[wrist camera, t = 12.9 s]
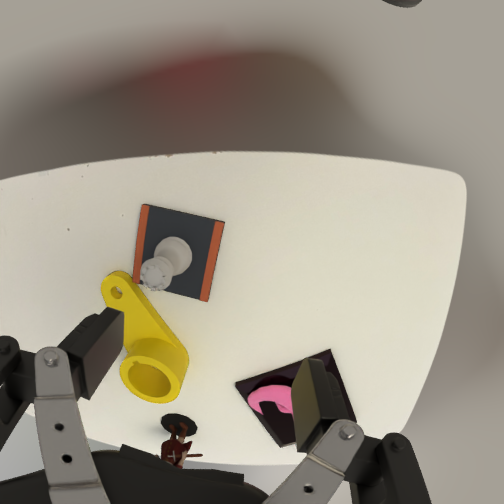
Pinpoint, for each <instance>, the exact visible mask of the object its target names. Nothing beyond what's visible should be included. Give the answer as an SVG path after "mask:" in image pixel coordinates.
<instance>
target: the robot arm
mask: <svg viewBox="0 0 504 504" xmlns="http://www.w3.org/2000/svg"><path fill="white" fill-rule="evenodd" d="M123 342H124V312H123V311H120V310H117V309H114V308H111V307H106V308H105V309H104V310H103V312H102V313H101V314H100V315H98V314H92V315H90V316H88V317H86V318H85V319H84V320H83V321H82V322H81V323H80V324H79V325H78V326H77V327H76V328H75V329H74V330H73V331H72V332H71V333H70V334H69V335H68V336H67V337H66V338H65V339H64V340H63V341H62V342H61V343H60V344H59V345H58V346H57V347H45V348H42V349H40V350H39V351H38V352H37V353H32V352H28V351H23V350H20V348H19V344H18V342H17V340H16V339H14V338H13V337H10V336H0V386H1V385H2V384H3V385H2V386H1V388H0V451H1V449H2V448H3V446H4V444H5V443H6V440H7V439H8V438H9V436H10V434H11V433H12V431H13V429H14V428H15V426H16V424H17V423H18V421H19V420H20V418H21V417H22V415H23V414H24V412H25V411H26V409H27V408H28V406H29V405H30V403H33V404H34V409H35V417H36V425H37V432H38V438H39V444H40V449H41V454H42V459H43V463H44V468H45V469H42V470H39V471H36V472H33V473H30V474H26V475H23V476H19V477H15V478H12V479H8V480H4V481H0V504H327V503H328V502H329V500H330V499H331V497H332V496H333V494H334V493H335V491H336V490H337V488H338V487H339V485H340V484H341V482H342V481H343V480H344V481H348V482H349V484H350V490H351V497H352V504H432V503H431V500H430V497H429V494H428V491H427V488H426V485H425V482H424V479H423V476H422V473H421V470H420V467H419V464H418V462H417V459H416V456H415V453H414V451H413V448H412V445H411V443H410V441H409V440H408V439H407V438H406V437H405V436H403V435H401V434H399V433H389V434H387V435H385V437H384V438H383V439H382V440H381V439H377V438H373V437H369V436H366V435H364V432H363V430H362V428H361V427H360V426H359V425H358V424H356V423H355V422H353V421H350V418H349V415H348V411H347V408H346V405H345V402H344V399H343V397H342V393H341V391H340V386H339V383H338V380H337V379H336V378H335V377H334V376H333V374H332V373H331V372H326V370H325V366H324V363H323V361H322V360H318V359H312V358H305V359H304V360H303V362H302V364H301V366H300V369H299V371H298V373H297V375H296V377H295V379H294V381H293V384H292V388H291V401H292V410H293V418H294V427H295V436H296V445H297V452H302V453H307V456H306V457H305V458H304V459H303V461H302V462H301V463H300V464H299V465H298V466H297V467H296V469H295V470H294V471H293V472H292V473H291V474H290V475H289V476H288V477H287V478H286V480H285V481H284V482H283V483H282V484H281V485H280V486H279V487H278V488H277V489H276V490H275V491H274V492H273V493H272V494H271V495H270V496H269V495H267V494H266V493H265V492H263V491H262V490H260V489H259V488H257V487H255V486H253V485H251V484H249V483H246V482H244V474H239V473H233V472H226V471H220V470H215V469H181V468H178V467H176V466H174V465H172V464H170V463H168V462H166V461H164V460H162V459H160V458H158V457H156V456H155V455H153V454H151V453H148V452H144V451H141V450H138V449H136V448H133V447H130V446H127V445H124V444H122V446H121V448H120V451H117V450H100V451H93V452H91V450H90V447H89V444H88V441H87V438H86V434H85V431H84V427H83V424H82V420H81V416H80V412H79V408H78V404H77V401H78V400H79V398H80V397H83V398H85V399H87V400H90V398H91V397H92V395H93V394H94V392H95V390H96V389H97V387H98V386H99V384H100V383H101V381H102V379H103V378H104V376H105V375H106V373H107V372H108V370H109V369H110V367H111V366H112V364H113V363H114V361H115V360H116V358H117V357H118V355H119V354H120V352H121V350H122V347H123Z"/></svg>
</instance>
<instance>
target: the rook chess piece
mask: <svg viewBox="0 0 504 504" xmlns="http://www.w3.org/2000/svg"><path fill="white" fill-rule="evenodd" d="M191 261H192V252H191V250H190V247H189V245H188V244H187V243H186V242H185V241H184V240H182V239H180V238H178V237H168V238H165V239H163V240H162V241H161V242H160V243H159V244H158V246H157V247H156V249H155V252H154V258H152V259H149V260H147V261H145V262H144V263H143V264H142V267H141V270H140V274H141V275H140V280H142V281H143V283H144V284H143V285H144V286H145V287H146V288H147V287H148V288H150V289H151V291H156V290H158V291H160V290H163V289H166V288H167V287H168V286H169V285H170V282H171V280H172V276H175V275H178V274H181V273H183V272H184V271H185V270H186V269H187V268H188V267H189V266H190V263H191Z"/></svg>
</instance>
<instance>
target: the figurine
mask: <svg viewBox="0 0 504 504" xmlns="http://www.w3.org/2000/svg"><path fill="white" fill-rule="evenodd" d="M161 424H162V426H163V427H164V429H165V430H167V431H168V432H170V433H171V437H170V440H167V441H165V442H163V443H162V446H161V459H162V460H164V461H166V462H168V463H170V464H172V465H174V466H176V467H178V468H181V469H182V468H183V467H182V466H183V462H184V460H185V458H186V457H202V456H203V455H202V454H187V453H188V451H189V449H190V447H191V444H192V441H189V442H187V443H184V439H185V436H191V435H194V434H195V433H196V431H197V426H196V424H195V422H194V421H192V420H191V419H189V418H188V417H186V416H183V415H180V414H167V415H165V416H163V417H162V420H161ZM176 435H178V437H179V438H178V439H176ZM183 443H184V444H183ZM155 456H156V457H158V458H159V456H158V455H155Z"/></svg>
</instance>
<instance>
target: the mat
mask: <svg viewBox="0 0 504 504" xmlns="http://www.w3.org/2000/svg"><path fill="white" fill-rule="evenodd" d="M224 224H225V222H224V221H219V220H215V219H211V218H206V217H202V216H197V215H193V214H189V213H184V212H180V211H175V210H171V209H166V208H162V207H157V206H152V205H148V204H143V205H142V207H141V213H140V220H139V227H138V234H137V242H136V250H135V260H134V270H133V281H132V282H133V283H137V284H142V285H143V284H144V283H143V281H142V280H140V275H141V274H140V270H141V267H142V264H143V263H144V262H145V261H147V260H149V259H152V258H154V252H155V249H156V247H157V246H158V244H159V243H160V242H161V241H162V240H163V239H165V238H168V237H178V238H180V239H182V240H184V241H185V242H186V243H187V244H188V245H189V247H190V250H191V252H192V261H191V263H190V266H189V267H188V268H187V269H186V270H185V271H184V272H183V273H181V274H178V275H175V276H172V280H171V282H170V285H169V286H168V287H167V288H166V289H163V290H164V291H168V292H172V293H175V294H179V295H183V296H187V297H191V298H195V299H199V300H201V301H205V302H208V299H209V294H210V289H211V284H212V279H213V274H214V270H215V265H216V260H217V256H218V251H219V246H220V242H221V237H222V233H223V228H224Z"/></svg>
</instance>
